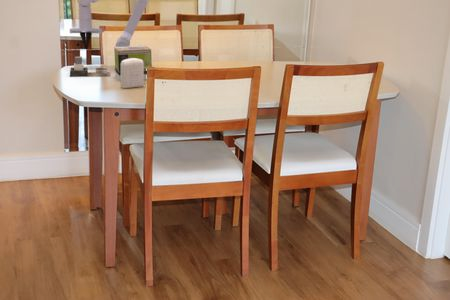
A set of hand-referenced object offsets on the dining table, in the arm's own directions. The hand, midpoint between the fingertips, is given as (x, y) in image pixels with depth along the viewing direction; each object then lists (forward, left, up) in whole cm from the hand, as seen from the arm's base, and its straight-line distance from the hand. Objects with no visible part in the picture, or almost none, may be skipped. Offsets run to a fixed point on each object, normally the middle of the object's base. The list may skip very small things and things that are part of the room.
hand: (86, 48), depth 296 cm
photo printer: (+7, +39, -11) cm, 41 cm away
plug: (+11, +8, -9) cm, 17 cm away
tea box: (-2, +30, -11) cm, 32 cm away
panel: (+8, +12, -10) cm, 17 cm away
